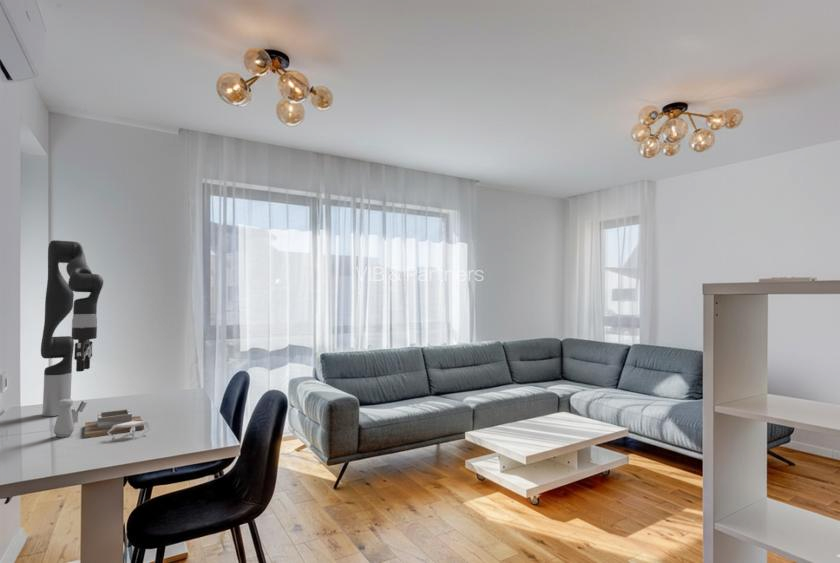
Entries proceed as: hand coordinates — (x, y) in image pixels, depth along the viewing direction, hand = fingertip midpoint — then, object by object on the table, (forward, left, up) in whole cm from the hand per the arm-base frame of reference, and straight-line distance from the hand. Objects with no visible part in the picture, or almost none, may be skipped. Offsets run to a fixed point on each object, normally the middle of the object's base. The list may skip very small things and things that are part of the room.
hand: (83, 370), depth 165 cm
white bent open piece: (+16, +14, -23) cm, 31 cm away
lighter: (-19, -2, -23) cm, 30 cm away
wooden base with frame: (0, +10, -23) cm, 25 cm away
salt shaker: (+2, -5, -23) cm, 24 cm away
